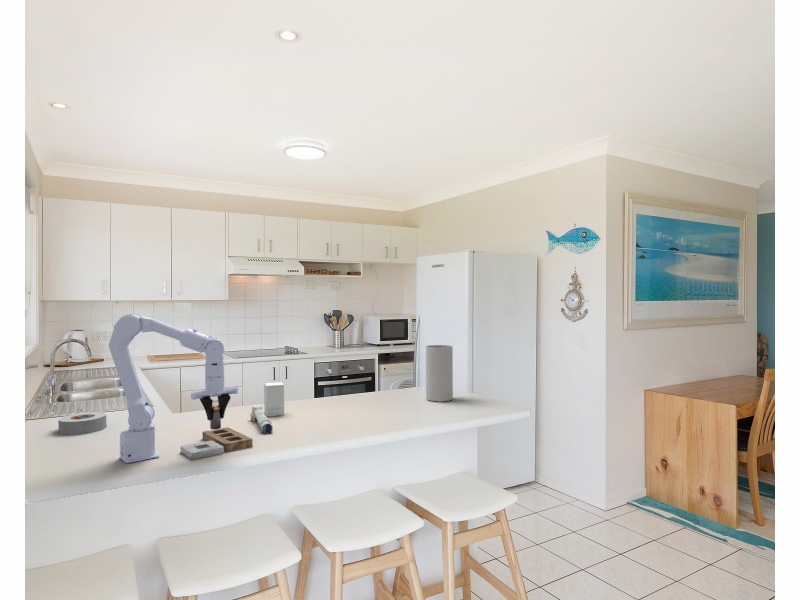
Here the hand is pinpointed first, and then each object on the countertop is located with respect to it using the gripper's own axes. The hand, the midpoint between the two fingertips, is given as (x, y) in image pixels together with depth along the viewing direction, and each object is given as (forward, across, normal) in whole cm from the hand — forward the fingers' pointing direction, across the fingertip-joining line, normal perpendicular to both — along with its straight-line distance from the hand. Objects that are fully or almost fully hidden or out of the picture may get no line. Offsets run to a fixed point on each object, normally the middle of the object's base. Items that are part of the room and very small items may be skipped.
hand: (215, 418), depth 170 cm
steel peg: (+3, 0, 0) cm, 3 cm away
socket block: (+10, -4, 0) cm, 11 cm away
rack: (+10, +6, +6) cm, 13 cm away
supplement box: (+10, +38, +34) cm, 52 cm away
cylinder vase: (+11, +110, +10) cm, 111 cm away
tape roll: (+10, -27, +59) cm, 66 cm away
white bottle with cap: (+11, +25, +20) cm, 34 cm away
